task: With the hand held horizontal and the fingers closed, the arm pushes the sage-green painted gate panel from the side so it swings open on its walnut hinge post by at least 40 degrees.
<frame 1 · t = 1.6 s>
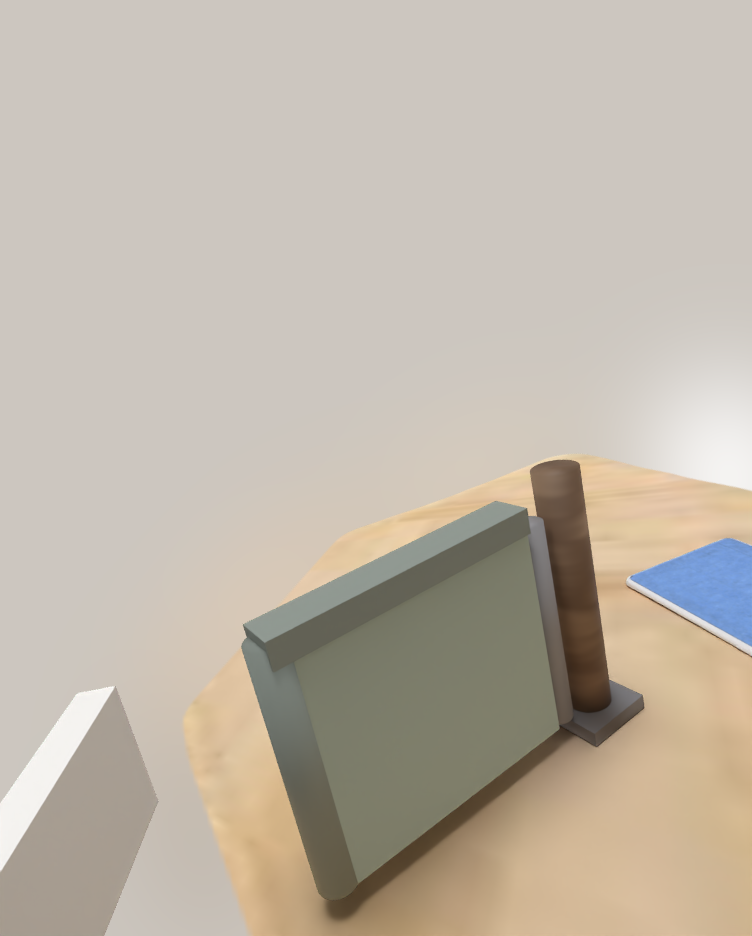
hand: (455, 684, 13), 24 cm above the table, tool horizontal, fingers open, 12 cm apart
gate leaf: (434, 679, 38), point 9 cm above the table, hinge at 0.0°
hinge post: (590, 710, 46), on the table
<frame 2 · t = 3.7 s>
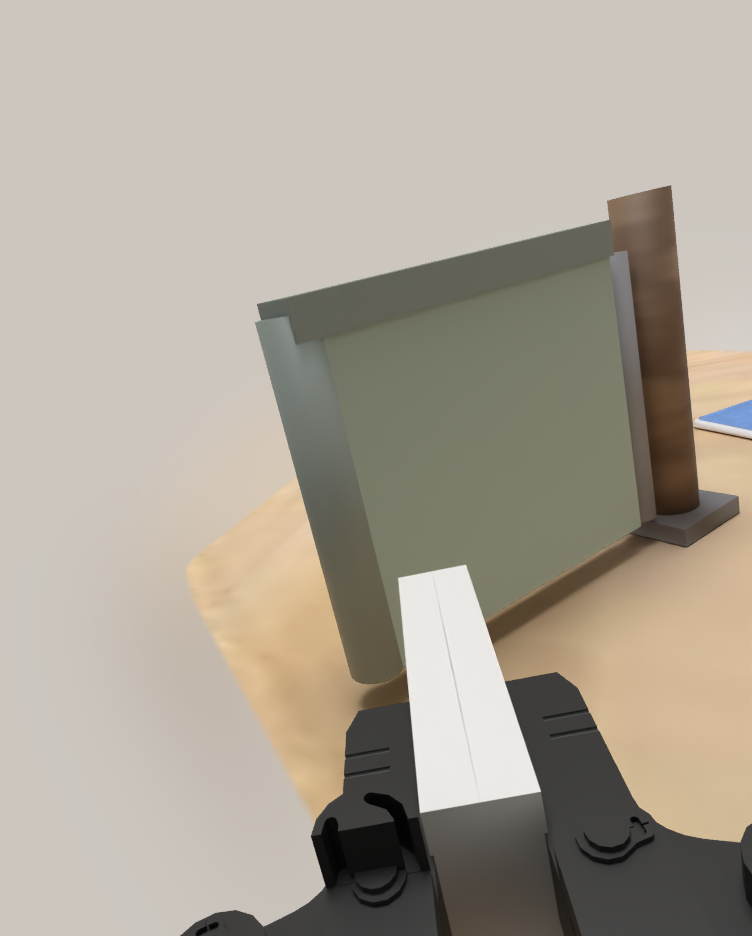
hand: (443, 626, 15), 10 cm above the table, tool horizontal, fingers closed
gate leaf: (495, 430, 30), point 9 cm above the table, hinge at 0.0°
hinge post: (672, 520, 38), on the table
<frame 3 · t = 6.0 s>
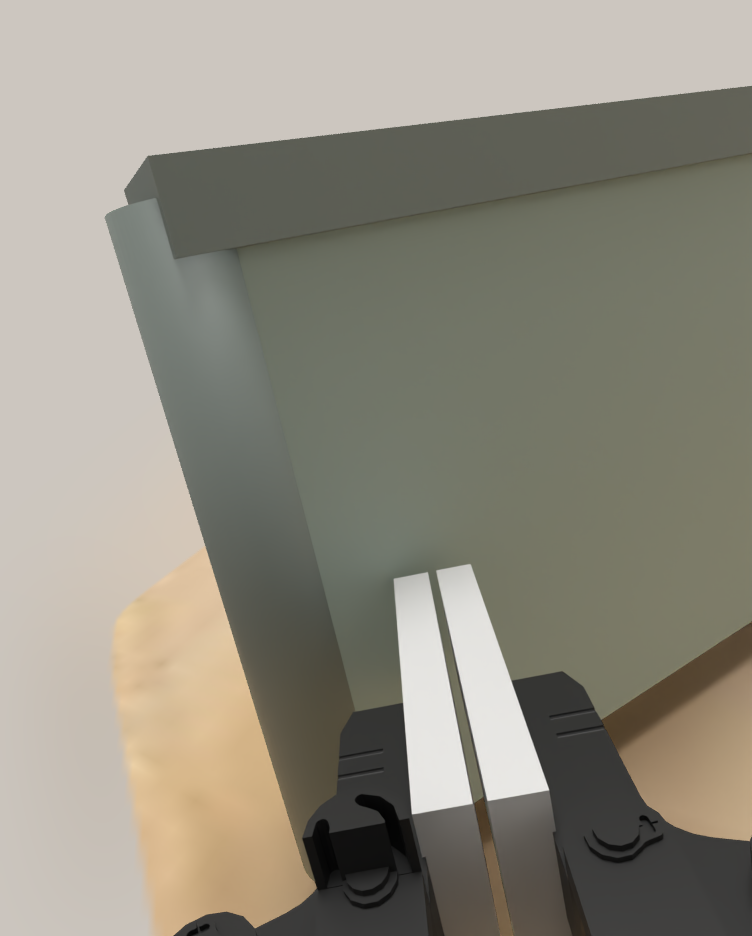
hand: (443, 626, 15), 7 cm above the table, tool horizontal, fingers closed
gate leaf: (568, 440, 18), point 9 cm above the table, hinge at 3.8°, touching gripper
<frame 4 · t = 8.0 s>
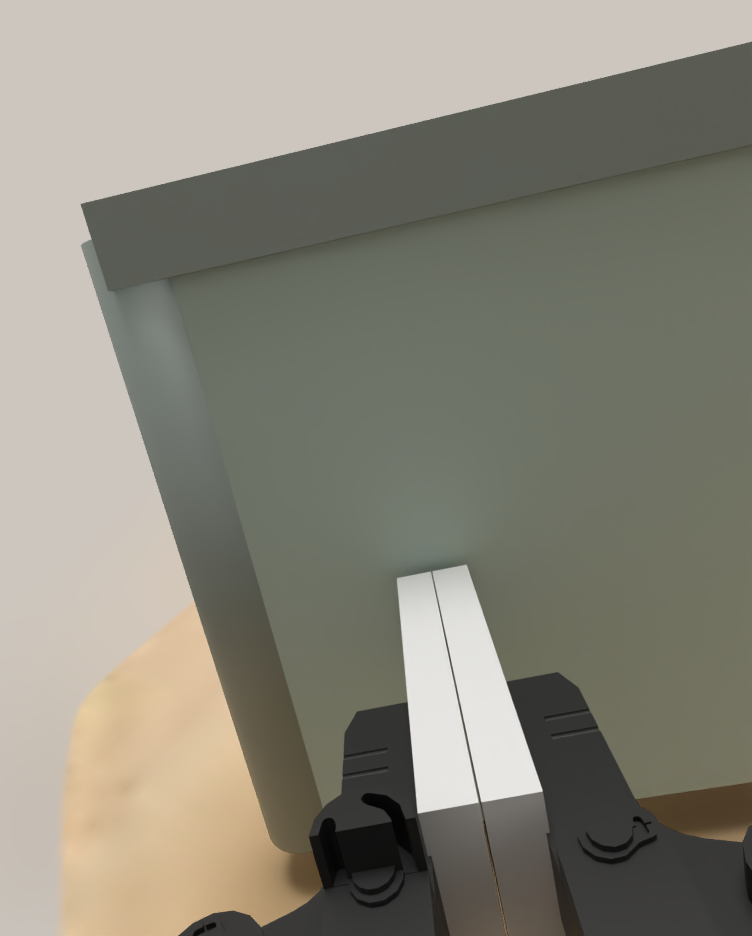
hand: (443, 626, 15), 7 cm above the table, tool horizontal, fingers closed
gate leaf: (605, 481, 15), point 9 cm above the table, hinge at 34.3°, touching gripper
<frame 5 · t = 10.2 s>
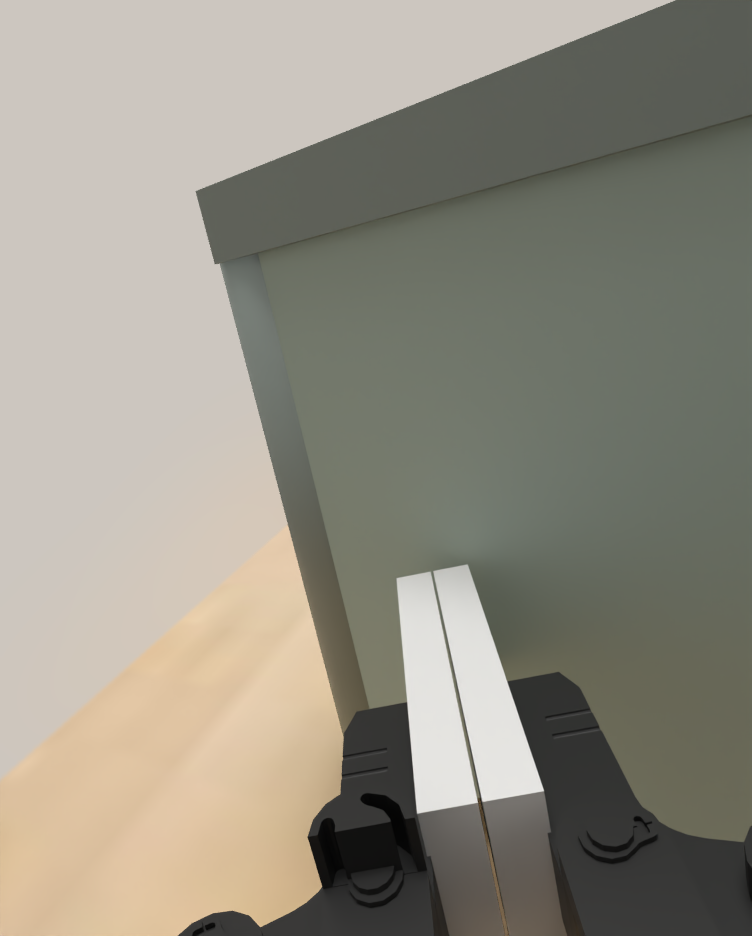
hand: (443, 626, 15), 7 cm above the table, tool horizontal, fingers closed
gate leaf: (669, 509, 12), point 9 cm above the table, hinge at 70.2°, touching gripper
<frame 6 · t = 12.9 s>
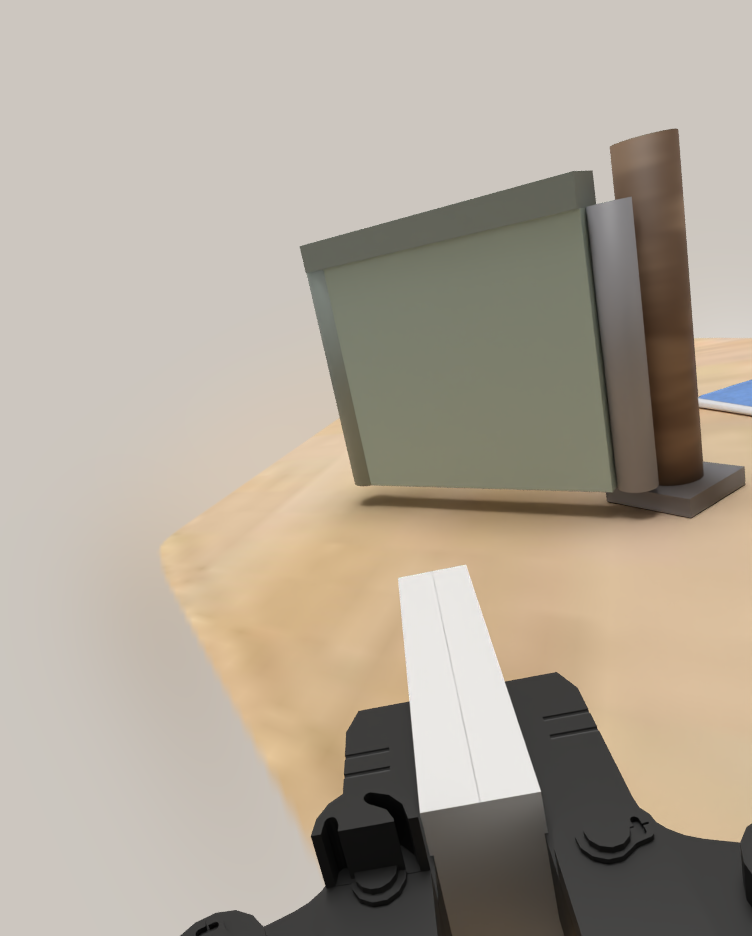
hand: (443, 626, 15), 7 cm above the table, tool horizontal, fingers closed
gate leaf: (463, 354, 38), point 9 cm above the table, hinge at 70.2°
hinge post: (674, 492, 36), on the table
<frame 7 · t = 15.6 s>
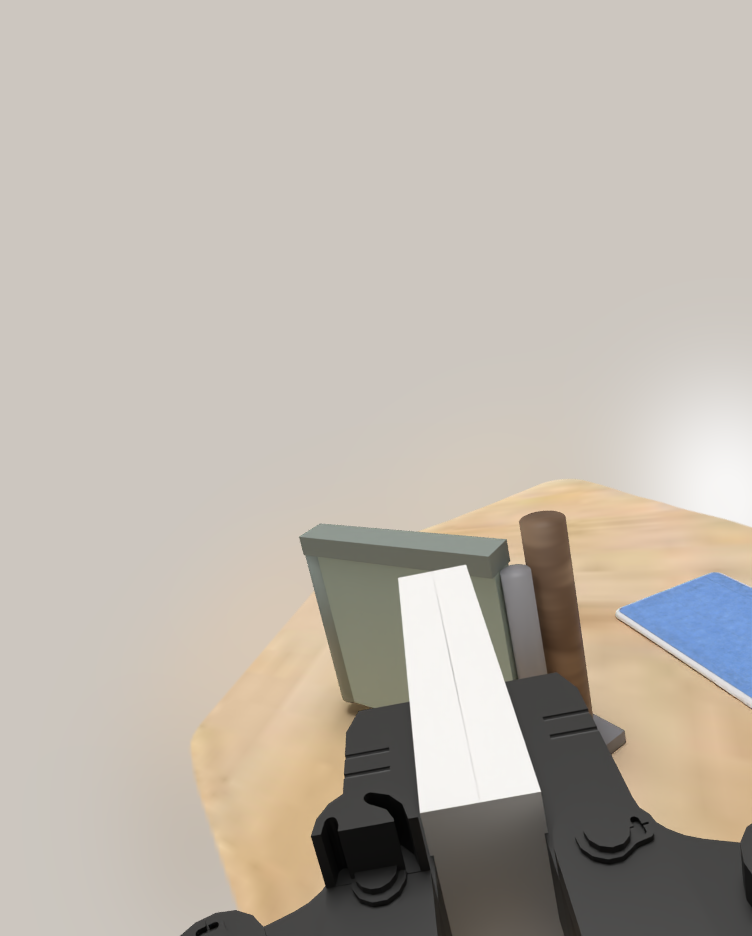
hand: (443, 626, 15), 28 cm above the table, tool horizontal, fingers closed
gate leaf: (420, 632, 50), point 9 cm above the table, hinge at 70.2°
hinge post: (575, 743, 49), on the table
tablet computer: (745, 646, 57), on the table
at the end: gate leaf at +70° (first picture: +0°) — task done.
